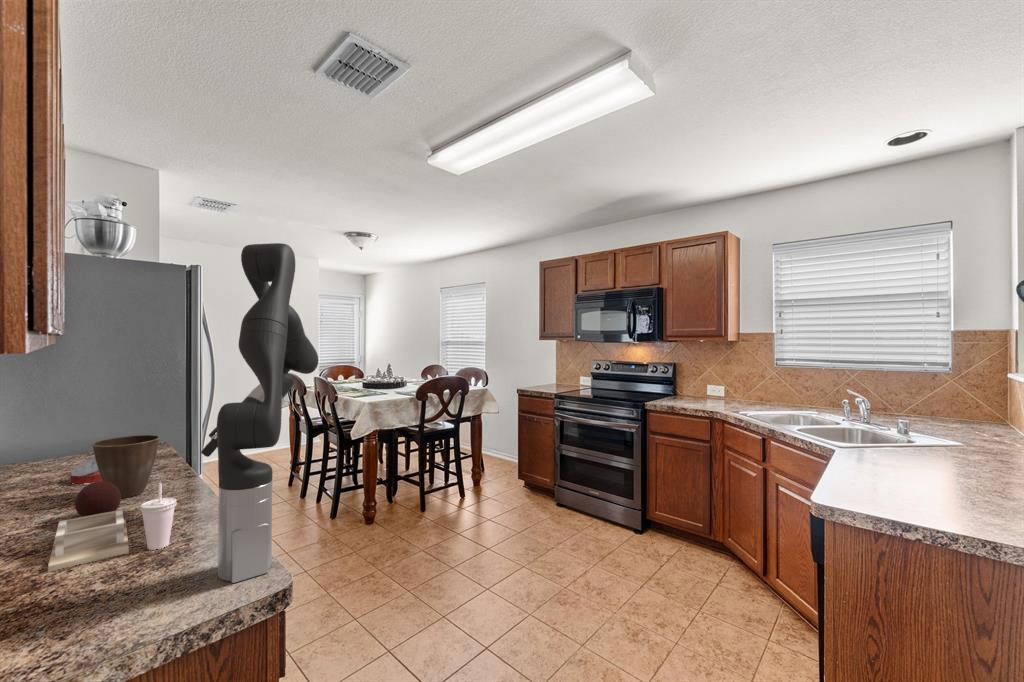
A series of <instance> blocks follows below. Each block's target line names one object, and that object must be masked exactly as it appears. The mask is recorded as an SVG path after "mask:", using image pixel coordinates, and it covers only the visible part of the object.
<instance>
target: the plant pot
mask: <svg viewBox="0 0 1024 682" xmlns="http://www.w3.org/2000/svg"><path fill="white" fill-rule="evenodd" d="M160 438H161V437H160V436H158V435H153V434H147V435H146V434H145V435H144V434H143V435H129V436H128V435H127V436H121V437H113V438H108V439H103V440H99V441H96V442H93V443H92V448H93V453H94V456H95V459H96V463H97V467H98V470H99V473H100V476H101V478H102V481H106V482H110V483H112V484H114V485H115V486H116V487H118V489H119V491H120V493H121V499H126V498H125V497H128V498H132V497H131V496H133V497H136V496H139V495H142V494H143V493H144V492H145V490H146V487H147V485H148V482H149V480H150V478H151V475H152V471H153V468H154V466H155V463H156V462H155V461H156V459H157V453H158V449H159V444H160ZM135 495H136V496H135Z"/></svg>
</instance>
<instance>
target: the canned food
mask: <svg viewBox="0 0 1024 682" xmlns="http://www.w3.org/2000/svg"><path fill="white" fill-rule="evenodd" d="M69 476H70V477H69V480H70V482H69V483H74V484H84V483H92V482H97V481H102V478H101V476H100V473H99V470H98V467H97V463H96V459H95V455H94V456H91V457H89V458H88V459H86V460H83V462H81V463H80V464H78V465H77V466H75V467H74V468H73V469H72V470H71V473H70V475H69Z"/></svg>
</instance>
